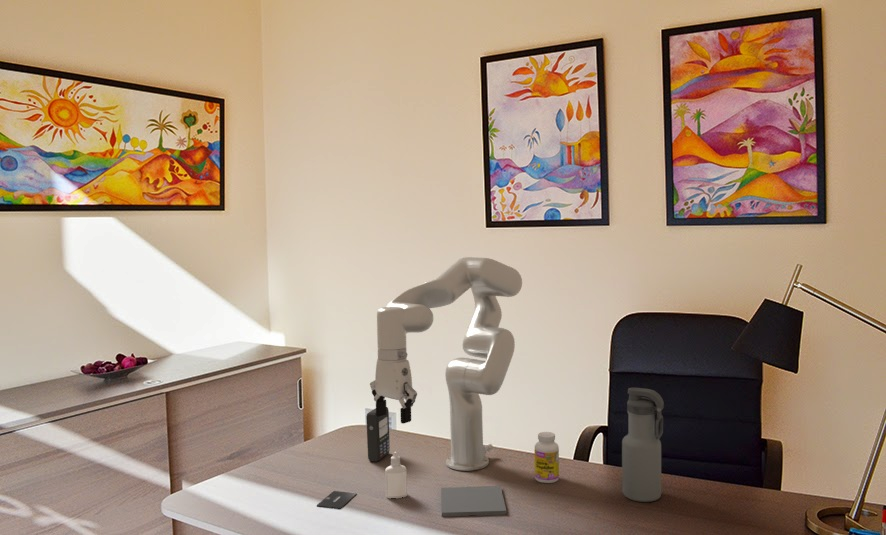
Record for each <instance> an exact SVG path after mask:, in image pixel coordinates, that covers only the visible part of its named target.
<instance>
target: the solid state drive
mask: <svg viewBox="0 0 886 535" xmlns="http://www.w3.org/2000/svg"><path fill="white" fill-rule="evenodd" d="M357 495H358V494H357V493H356V492H349V491H340V490H339V491H338V490H333V491H332V492H330V493H329V494H328V495H327V496H325V498H323V499H322V500H321V501H320V502H318V503H317V504H316V507H319V508H326V509H333V508H334V510H341V508H342V507H343V508H344V507H345V506H346V505H348V503H350V502H351V501H352V500H353V499H354V498H355V497H356V496H357ZM353 497H354V498H353ZM352 498H353V499H352ZM351 499H352V500H351ZM343 508H342V509H343Z"/></svg>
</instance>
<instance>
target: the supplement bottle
mask: <svg viewBox="0 0 886 535" xmlns="http://www.w3.org/2000/svg"><path fill="white" fill-rule="evenodd" d="M537 439H538V441H537V442H536V443H535V444H534V478H535V480H536V481H537V482H539V483H542V484H553V483H556V482H557V481H559V479H560V478H559V477H560V458H559V457H560V453H559V452H560V449H559V448H560V446H559V445H558V443H557V442H556V434H555V432H551V431H550V432H549V431H541V432H538V434H537Z"/></svg>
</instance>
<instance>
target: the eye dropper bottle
mask: <svg viewBox="0 0 886 535" xmlns="http://www.w3.org/2000/svg"><path fill="white" fill-rule="evenodd" d="M384 470H385V472H384V475H385V476H384V477H385V498H387V499H391V498H396V499H403V498H405V497H407V496H408V476H407V475H408V473H407V472H408V471H407V470H408V469H407V467H406V466H405V465H403V464H401V456H400V455H398V453H397V451H394V452H393V454H392V456H391V457H390V465H389V466H387V467H386V468H385V469H384ZM402 497H403V498H402Z"/></svg>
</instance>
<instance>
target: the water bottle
mask: <svg viewBox="0 0 886 535" xmlns="http://www.w3.org/2000/svg"><path fill="white" fill-rule="evenodd" d="M627 394H628V400H627V404H626V405H627V407H626V408H627V409H626V411H627V412H626V413H627V416H628V422H627V423H628V424H627V425H628V433H627V434H626V435H625V436H624V437H623V438H622V440H621V472H622V475H621V478H622V480H621V481H622V482H621V485H622V494H623V496H624V497H626V498H627V499H629V500H631V501H634V502H640V503H651V502H655V501H658V500H659V499H660V498H661V497H662V496H661V495H662V442H661V440H660V439H661V437H662V436H663V434H664V416H663V415H662V410H663V409H664V408H665V405H664V404H665V402H664V399H663V397H662V396H661V394H659V393H658V392H657V391H656V390H653V389H650V388H642V387H629V388H627ZM655 415H656V418H655ZM655 419H656V420H655Z"/></svg>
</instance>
